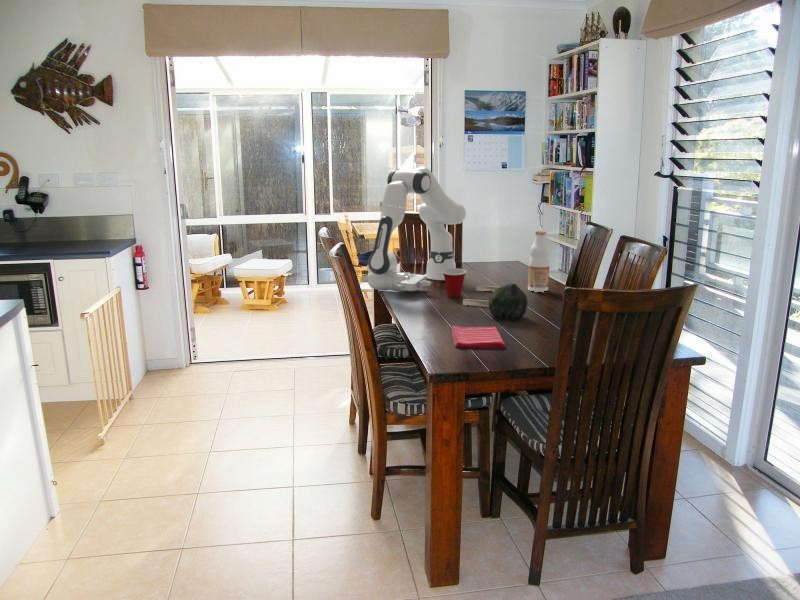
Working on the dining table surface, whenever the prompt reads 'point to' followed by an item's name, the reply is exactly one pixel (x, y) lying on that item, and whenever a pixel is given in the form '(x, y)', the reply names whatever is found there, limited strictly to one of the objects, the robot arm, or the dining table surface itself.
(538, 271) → the fruit juice
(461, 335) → the dish towel
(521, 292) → the squash
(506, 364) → the dining table surface
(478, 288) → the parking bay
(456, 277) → the plastic cup
